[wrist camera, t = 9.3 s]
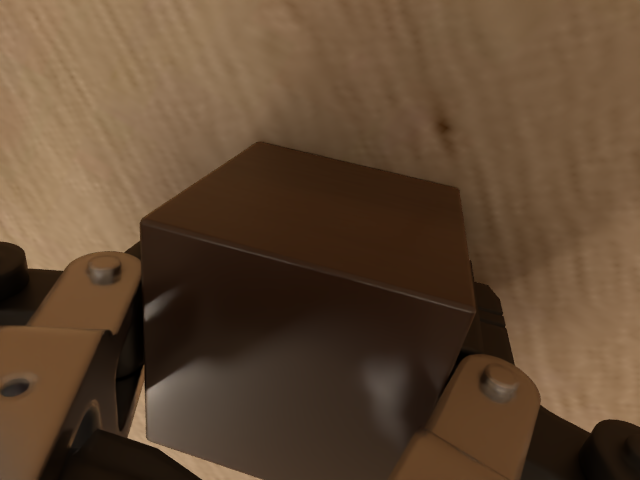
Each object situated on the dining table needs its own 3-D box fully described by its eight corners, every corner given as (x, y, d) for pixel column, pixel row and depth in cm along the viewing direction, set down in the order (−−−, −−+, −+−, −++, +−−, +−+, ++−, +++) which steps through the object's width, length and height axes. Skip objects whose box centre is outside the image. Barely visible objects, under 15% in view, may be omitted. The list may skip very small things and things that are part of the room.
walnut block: (257, 140, 11) (136, 218, 7) (460, 187, 10) (478, 310, 6) (240, 303, 13) (144, 441, 9) (405, 350, 13) (389, 525, 8)
